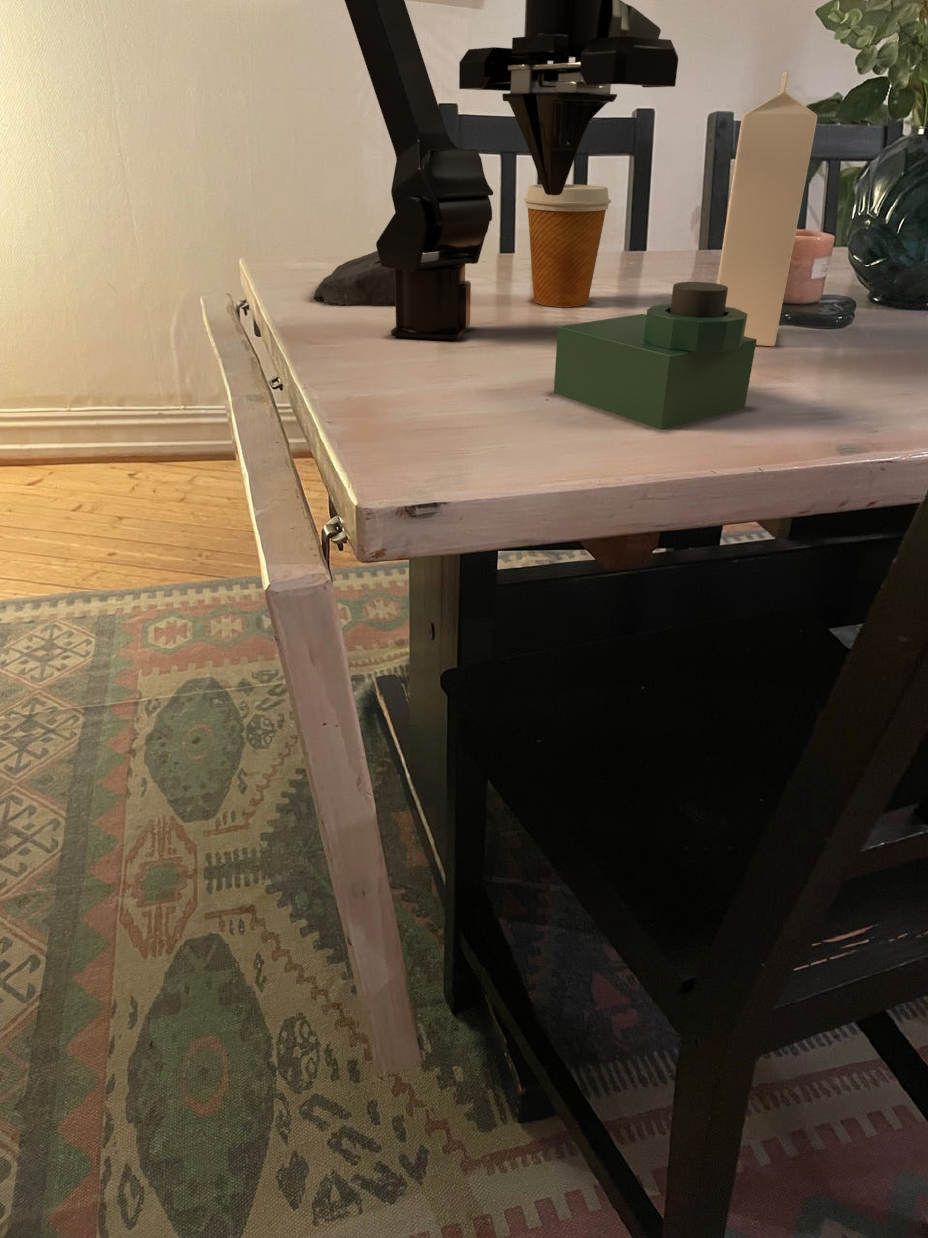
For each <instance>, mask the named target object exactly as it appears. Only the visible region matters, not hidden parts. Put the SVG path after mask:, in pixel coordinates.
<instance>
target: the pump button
mask: <svg viewBox="0 0 928 1238" xmlns="http://www.w3.org/2000/svg"><path fill="white" fill-rule="evenodd" d="M727 292H728V287H727V286H724V285H721V284H717V282H716V283H714V282H708V281H707V282H706V281H681V282H676V283H674V284H673V285H672V293H671V300H670V303H671V308H670V313H671V314H675V315H680V316H686V317H697V318H716V317H722V316H724V311H725V305H726V299H727Z"/></svg>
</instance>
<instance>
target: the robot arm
mask: <svg viewBox="0 0 928 1238" xmlns="http://www.w3.org/2000/svg"><path fill="white" fill-rule="evenodd" d="M524 2H525V4H524V28H523V29H524V30H523V31H524V32H523V36H518V37H517V36H516V37H512V38H511V48H510V47H499V46H498V47H497V46H493V47H480V48H470V49H469V48H468V49H467V51H466V52H465V53H464V55H463V56H462V58H461V59H460V61H459V66H458V69H459V70H458V71H459V73H458V76H459V77H458V78H459V79H458V89H459V90H473V91H474V90H475V91H476V90H477V91H496V92H497V91H500V92H501V91H502V92H509V93H502V101H503V102H507V103H508V104H509V107H510V108H511V110H512V113H513V115H514V118H515V119H516V122H517V124H518V126H519V128H520V130H521V133H522V135H523V137H524V140H525V142H526V146H527V148H528V151H529V153H530V156H531V159H532V161H533V164H534V166H535V169H536V172H537V175H538V177H539V181H540V184H541V185H542V186H543V189H544V191H545V194H547V195H560V194H561V193H562V191H563V189H564V186H565V184H567V181H568V178H569V175H570V172H571V169H572V167H573V164H574V161H575V159H576V155H577V153H578V150H579V148H580V145H581V142H582V140H583V137H584V136H585V133H586V131H587V128H588V127H589V125H590V123H591V121H592V119H593V118H594V117H595V116H596V115H597V114H598V113H599V112H600V111H601V110H602V109H603V108H604V106H606V105H607V104H609V103H614V102H615V100H616V99H617V98H618V94H617V93H611V92H612V91H611V89H612V85H626V86H628V85H630V86H641V87H642V88H675V87H676V85H677V83H676V82H677V75H678V74H677V73H678V66H679V55H678V53H677V50H676V49H675V46H674V43H673V41H672V39H666V38H660V35H661V33H662V29H661V28H660V27H659V26H658V25H657V24H656V23H655V22H654V21H652V20H651V19H650V18H648V16H647V17H646V16H645V15H644V14H643V13H642V12H640V11H639V10H638V9H637V8H635V7H634V6H633V5H630V4H627V3H626V2H625V1H623V0H525V1H524ZM344 3H345V6H346V10H347V11H348V15H349V18H350V21H351V25H352V27H353V31H354V33H355V36H356V39H357V42H358V45H359V49H360V51H361V54H362V57H363V61H364V63H365V67H366V69H367V72H368V76H369V79H370V82H371V83H372V84H371V85H372V87H373V90H374V91H373V92H374V94H375V97H376V100H377V103H378V106H379V109H380V112H381V114H382V118H383V120H384V124H385V127H386V129H387V133H388V136H389V137H390V138H389V139H390V143H391V145H392V148H393V151H394V154H395V159H396V161H395V165H394V174H393V178H392V182H391V189H390V193H391V199H392V204H393V209H394V214H393V216H392V217H391V219H390V220H389V222H388V223H387V225H386V227H384V229H383V231H382V232H381V234H380V236H379V237H378V239H377V240H376V243H375V247H376V251H378V255H379V259H380V263H381V266H382V267H386V268H392V269H395V305H394V306H395V327H394V328H392V329H391V330H390V335H391V337H399V338H416V339H417V338H419V339H435V340H437V339H438V340H458V339H459V338H460V337H461V336H462V335H463V334H464V332H465V331H466V330H467V329H468V328H469V326H471V301H472V300H471V299H472V298H471V297H472V295H471V294H472V292H471V291H472V283H471V281H469V280H466V265H469V264H471V265H475V264H478V262H479V260H480V257H481V253H482V249H483V246H484V242H485V239H486V236H487V233H488V232H489V231H488V230H489V226H490V223H491V222H492V221H493V207H492V202H491V199H490V196H493V195H494V191H493V189H492V188H491V186H490V185H489V183H488V181H487V178H486V176H485V171H484V167H483V160H482V157H481V155H480V154H479V151H478V150H477V149H476V148H458V146H457V145H456V144H455V143H454V142H453V141H452V140H451V139H450V136H449V134H448V132H447V128H446V125H445V122H444V119H443V116H442V113H441V109H440V106H439V103H438V100H437V98H436V94H435V91H434V88H433V85H432V82H431V79H430V75H429V73H428V70H427V69H428V68H427V66H426V63H425V60H424V57H423V54H422V51H421V48H420V44H419V42H418V39H417V36H416V35H417V34H416V33H415V29H414V25H413V23H412V20H411V17H410V14H409V10H408V8H407V4H406V2H405V0H344ZM570 58H571V59H572V58H573V59H574V62H570ZM549 62H552V63H549Z"/></svg>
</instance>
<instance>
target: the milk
mask: <svg viewBox="0 0 928 1238" xmlns="http://www.w3.org/2000/svg"><path fill="white" fill-rule="evenodd" d="M789 71H790V70H789V69H788V70H785V71H784V72H783V73H782V74H781V75H782V76H781V81H780V87H779V91H778V92H779V93H778V94H776V95H774V96H773V97H771V98H769V99H767V100H765V101H764V102H762V103H761V104H759V105H757V106H756V107H754V108H752V109H750V110H749V111H747V112H745V113H744V114H742V115H741V119H740V127H739V134H738V140H737V147H736V154H735V159H734V166H733V172H732V179H731V180H732V181H731V187H730V194H729V201H728V206H727V207H728V208H727V212H726V213H727V214H726V222H725V225H724V234H723V240H722V247H721V254H720V260H719V268H718V274H717V281H716V284H721V285H724V286H727V287H728V292H727V299H726V305H725V307H730V308H736V309H738V310H740V311H742V312H744V313H747V320H746V326H745V332H744V336H745V337H749V338H754V339H757V341H756V346H762V347H763V346H764V347H775V345H776V341H777V336H778V330H779V325H780V319H781V313H782V308H783V303H784V297H785V293H786V287H787V283H788V277H789V271H790V265H791V260H792V254H793V249H794V245H795V239H796V233H797V228H798V222H799V218H800V212H801V208H802V207H801V206H802V201H803V196H804V190H805V186H806V180H807V175H808V170H809V165H810V159H811V153H812V148H813V144H814V139H815V138H814V137H815V133H816V127H817V121H818V114H816V113H815V112H814V111H812V110H811V109H810V108H808V107H807V106H806V105H804V104H803V103H802V102H800V101H799V100H798V99H796V98H795V97H794V96H792V95H791V94H789V93H788V92H787V91H786V90H787V89H786V88H787V84H788V77H789Z"/></svg>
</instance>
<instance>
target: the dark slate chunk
mask: <svg viewBox="0 0 928 1238" xmlns="http://www.w3.org/2000/svg"><path fill="white" fill-rule="evenodd" d="M313 300H314V301H317V302H321V303H322V302H323V303H324V302H325V303H326V304H327V305H330V306H334V305H335V306H336V305H340V306H353V305H361V306H395V269H392V268H386V267H382V266H381V263H380V259H379V255H378V251H377V250H375V251H373V252H371V253H368V254H365V255H362V256H360V257H357V258H356V257H355V258H353V259H350V260H348V261H346V262H344V263H343V264H342V263H341V264H340V265H337V266H336V268H335V269H334V270H333V271H332V273H330V274H329V275H327V276H326V277H324V278H323V279H322V281H321V282H320V284H319V285H318V286H317V288H316V289H315V292H314V294H313Z"/></svg>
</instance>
